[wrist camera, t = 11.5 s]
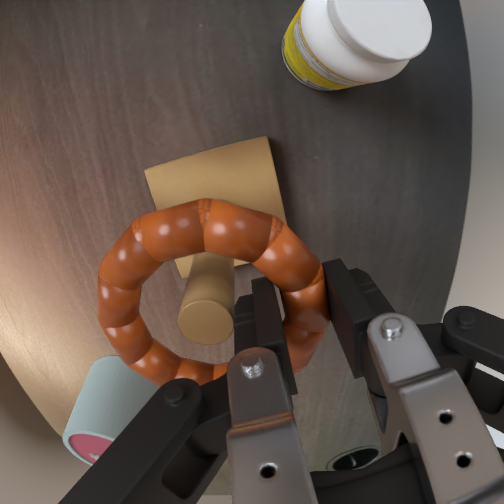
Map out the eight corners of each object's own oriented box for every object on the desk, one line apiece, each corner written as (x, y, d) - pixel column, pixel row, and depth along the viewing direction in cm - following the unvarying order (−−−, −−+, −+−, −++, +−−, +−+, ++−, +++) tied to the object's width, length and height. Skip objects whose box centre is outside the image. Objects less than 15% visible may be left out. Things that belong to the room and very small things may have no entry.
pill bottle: (342, 10, 17) (413, -46, 7) (371, 80, 20) (462, 68, 10) (266, 27, 18) (293, -39, 8) (297, 101, 21) (352, 90, 10)
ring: (73, 232, 10) (52, 250, 9) (302, 169, 10) (313, 179, 8) (156, 389, 14) (151, 414, 12) (331, 358, 13) (339, 384, 12)
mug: (108, 407, 33) (89, 470, 24) (78, 355, 29) (45, 423, 20) (211, 408, 33) (209, 481, 24) (195, 353, 29) (185, 437, 20)
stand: (148, 168, 22) (47, 240, 9) (265, 135, 22) (312, 164, 9) (183, 272, 26) (147, 412, 13) (290, 246, 25) (341, 378, 12)
